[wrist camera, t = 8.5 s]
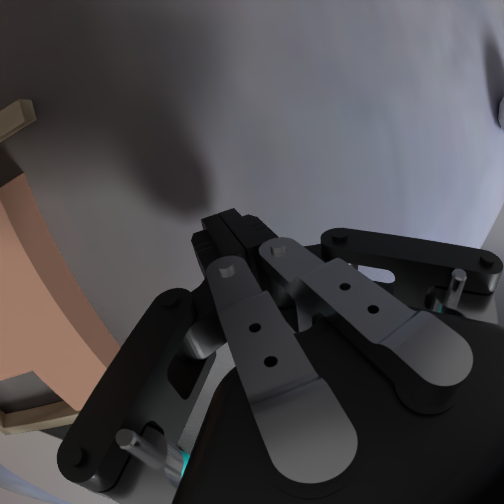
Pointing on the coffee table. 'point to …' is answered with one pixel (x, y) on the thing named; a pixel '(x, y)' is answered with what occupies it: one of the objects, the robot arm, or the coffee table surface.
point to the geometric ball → (501, 114)
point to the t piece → (45, 306)
